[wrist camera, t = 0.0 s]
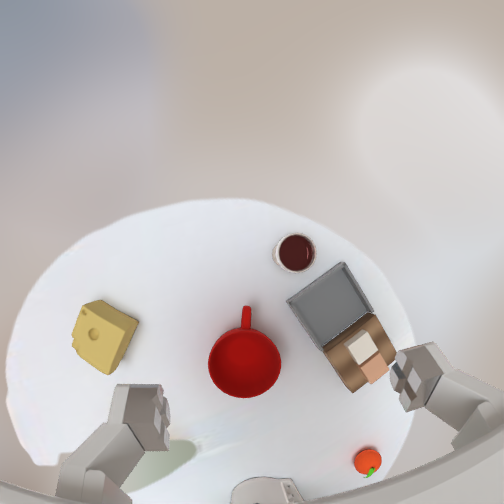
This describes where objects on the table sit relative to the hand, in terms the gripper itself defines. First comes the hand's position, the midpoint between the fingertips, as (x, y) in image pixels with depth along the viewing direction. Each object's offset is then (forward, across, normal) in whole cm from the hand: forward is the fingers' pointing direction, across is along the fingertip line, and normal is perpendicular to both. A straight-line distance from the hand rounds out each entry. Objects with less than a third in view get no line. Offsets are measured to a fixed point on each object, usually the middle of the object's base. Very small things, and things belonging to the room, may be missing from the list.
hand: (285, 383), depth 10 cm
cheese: (+44, -27, -33) cm, 62 cm away
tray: (+44, +19, -32) cm, 58 cm away
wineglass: (+50, +10, -22) cm, 56 cm away
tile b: (+34, +26, -42) cm, 61 cm away
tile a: (+37, +24, -38) cm, 58 cm away
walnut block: (+39, +25, -42) cm, 63 cm away
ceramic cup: (+42, 0, -37) cm, 56 cm away
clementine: (+24, +27, -69) cm, 78 cm away
